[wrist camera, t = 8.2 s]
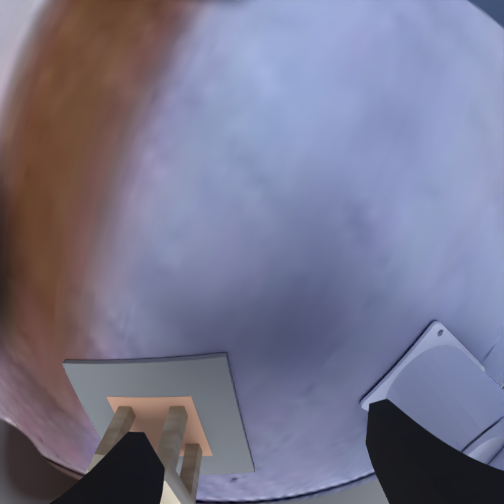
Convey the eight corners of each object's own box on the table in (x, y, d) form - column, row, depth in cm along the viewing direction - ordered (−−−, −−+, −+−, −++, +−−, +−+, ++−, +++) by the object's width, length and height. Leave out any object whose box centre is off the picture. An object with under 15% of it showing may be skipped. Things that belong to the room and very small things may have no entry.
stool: (184, 405, 18) (165, 480, 12) (202, 451, 19) (192, 519, 13) (118, 406, 18) (86, 470, 12) (142, 450, 19) (122, 512, 13)
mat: (226, 352, 18) (225, 357, 17) (254, 467, 20) (254, 472, 20) (65, 359, 18) (61, 363, 17) (122, 465, 21) (121, 470, 20)
